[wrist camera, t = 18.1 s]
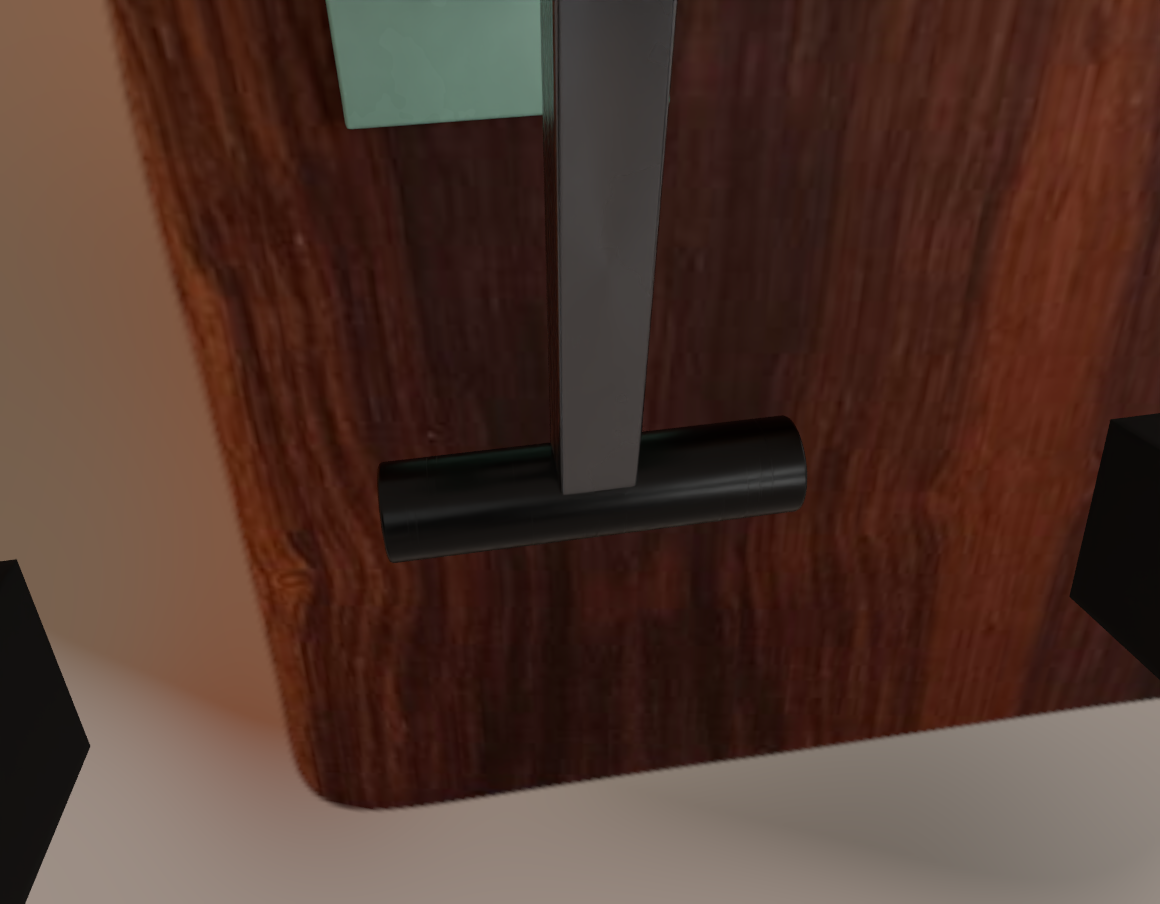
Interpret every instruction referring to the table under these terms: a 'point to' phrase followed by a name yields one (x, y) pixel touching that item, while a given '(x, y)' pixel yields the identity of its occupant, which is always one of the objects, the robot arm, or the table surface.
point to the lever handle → (596, 333)
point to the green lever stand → (436, 60)
